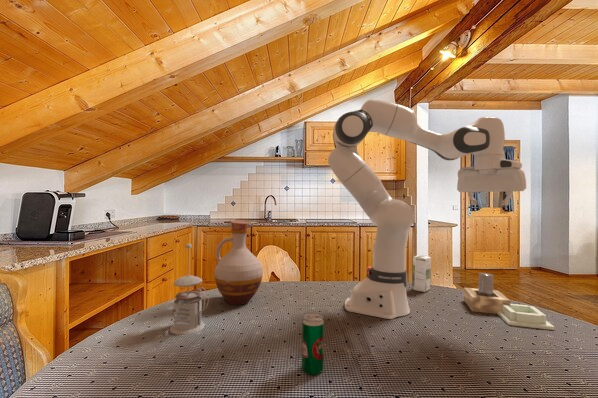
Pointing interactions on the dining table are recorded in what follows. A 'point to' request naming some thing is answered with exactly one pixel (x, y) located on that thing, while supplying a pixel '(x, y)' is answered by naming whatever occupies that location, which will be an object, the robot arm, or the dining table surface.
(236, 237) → the jug
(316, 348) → the soda can
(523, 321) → the holder
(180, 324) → the french press
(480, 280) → the axle
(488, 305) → the bored block
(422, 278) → the syrup box
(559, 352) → the dining table surface
